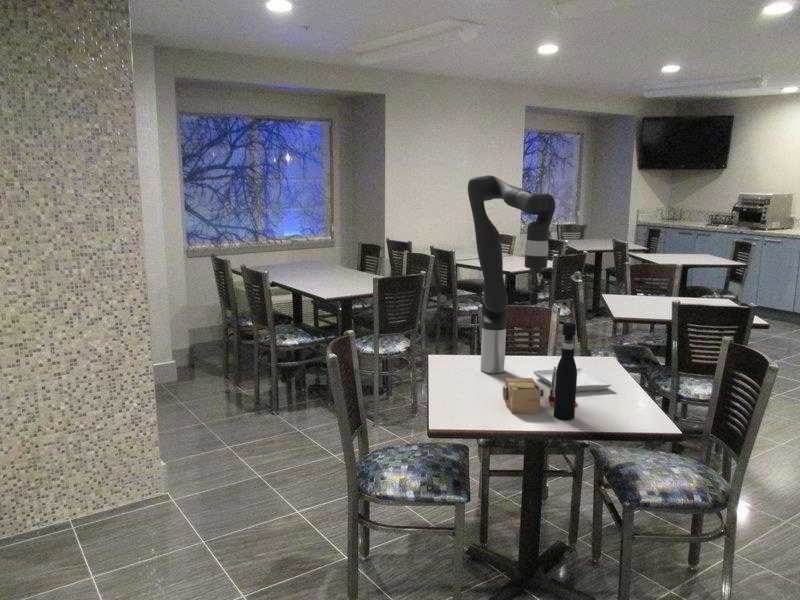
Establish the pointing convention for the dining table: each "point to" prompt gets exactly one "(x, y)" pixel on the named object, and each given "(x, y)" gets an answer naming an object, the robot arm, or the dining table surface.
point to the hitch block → (522, 396)
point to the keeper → (524, 385)
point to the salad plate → (578, 380)
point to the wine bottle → (566, 377)
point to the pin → (505, 392)
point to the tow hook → (552, 390)
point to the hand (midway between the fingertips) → (533, 304)
